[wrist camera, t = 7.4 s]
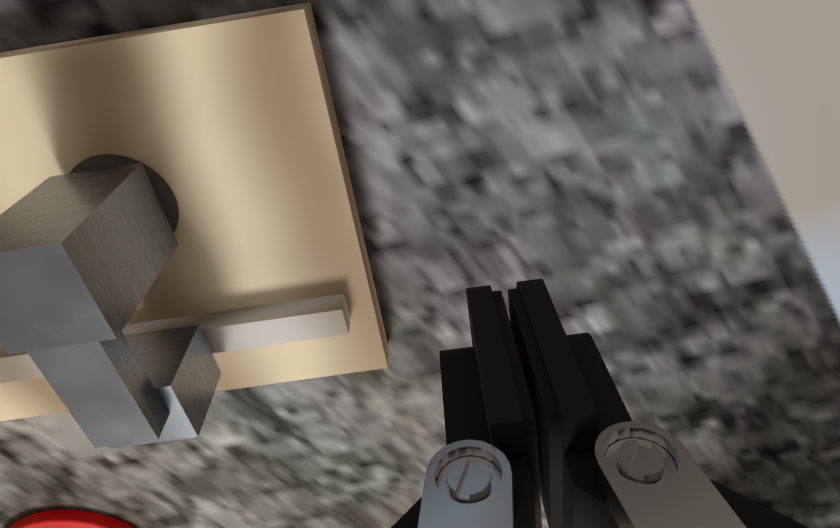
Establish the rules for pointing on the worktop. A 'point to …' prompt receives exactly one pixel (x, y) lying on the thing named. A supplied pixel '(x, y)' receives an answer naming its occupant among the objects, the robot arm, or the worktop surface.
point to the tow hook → (68, 520)
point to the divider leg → (101, 307)
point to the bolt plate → (209, 188)
